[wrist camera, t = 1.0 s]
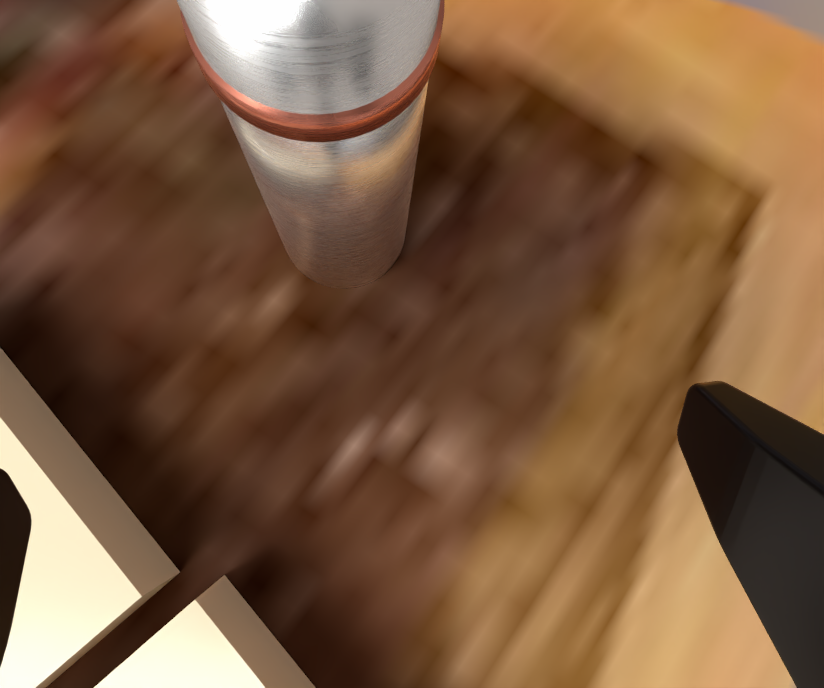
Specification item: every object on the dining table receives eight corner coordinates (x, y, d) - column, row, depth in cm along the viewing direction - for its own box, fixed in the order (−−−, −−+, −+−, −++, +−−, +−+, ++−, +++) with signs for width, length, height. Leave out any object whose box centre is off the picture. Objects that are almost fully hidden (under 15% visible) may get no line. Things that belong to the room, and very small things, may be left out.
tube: (434, 236, 23) (525, -80, 9) (336, 317, 22) (276, 105, 9) (351, 144, 24) (321, -291, 10) (252, 220, 23) (68, -130, 9)
